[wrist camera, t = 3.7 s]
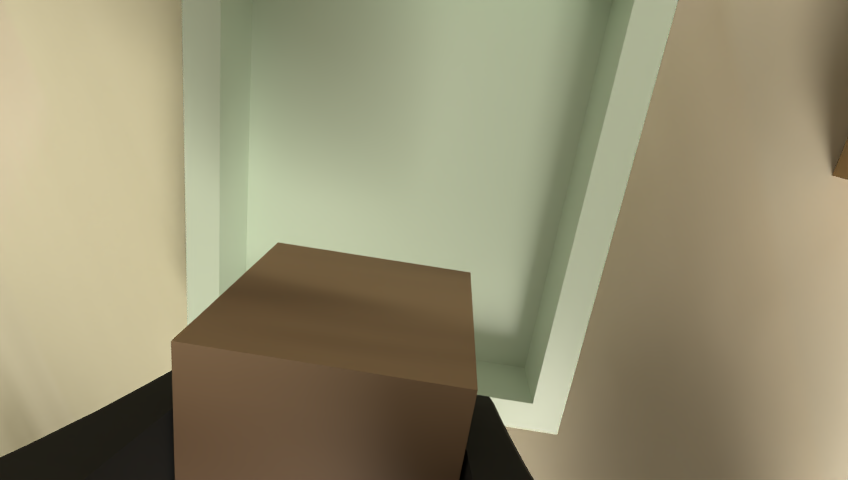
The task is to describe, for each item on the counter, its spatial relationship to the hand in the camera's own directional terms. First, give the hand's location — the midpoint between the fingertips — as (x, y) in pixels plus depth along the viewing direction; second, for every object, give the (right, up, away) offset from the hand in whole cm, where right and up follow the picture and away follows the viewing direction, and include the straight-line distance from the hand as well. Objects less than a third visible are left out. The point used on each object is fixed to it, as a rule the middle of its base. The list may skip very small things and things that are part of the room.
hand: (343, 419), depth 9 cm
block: (0, +1, +2) cm, 2 cm away
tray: (+1, +5, +7) cm, 9 cm away
